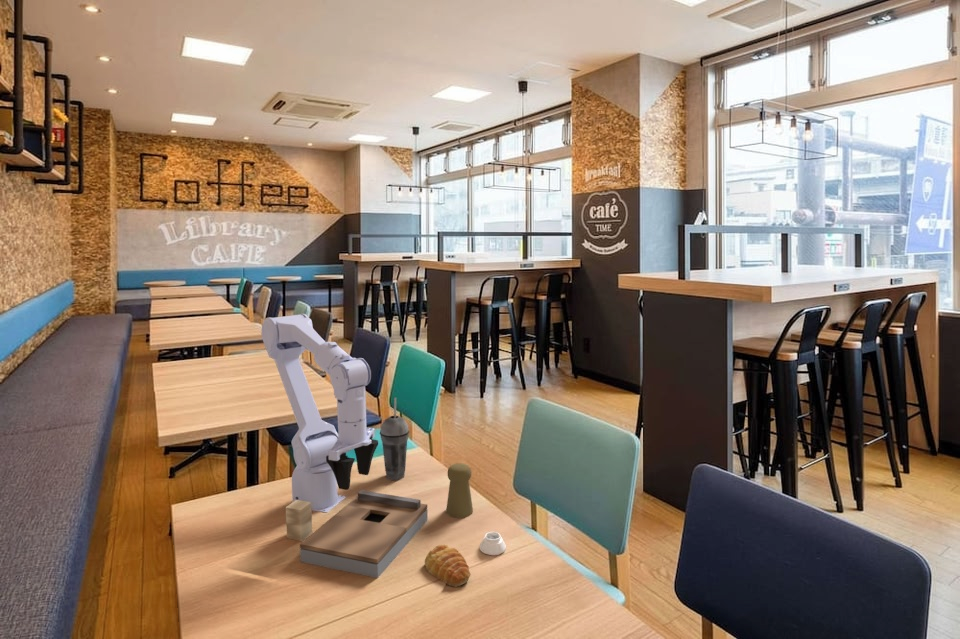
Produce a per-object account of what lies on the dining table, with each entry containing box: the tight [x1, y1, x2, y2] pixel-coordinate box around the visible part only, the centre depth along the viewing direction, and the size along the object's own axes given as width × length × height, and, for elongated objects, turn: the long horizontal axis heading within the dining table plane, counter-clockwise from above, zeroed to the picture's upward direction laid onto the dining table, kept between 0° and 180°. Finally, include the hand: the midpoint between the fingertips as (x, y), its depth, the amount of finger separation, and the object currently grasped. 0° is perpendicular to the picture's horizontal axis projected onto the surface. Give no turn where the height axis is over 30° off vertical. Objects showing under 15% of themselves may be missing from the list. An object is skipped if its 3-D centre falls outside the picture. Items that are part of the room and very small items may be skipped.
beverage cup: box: [379, 397, 410, 481], centre depth 147 cm, size 7×7×20 cm
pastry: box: [424, 544, 471, 588], centre depth 107 cm, size 9×7×4 cm
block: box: [285, 500, 313, 542], centre depth 119 cm, size 4×4×7 cm
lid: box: [299, 489, 428, 564], centre depth 117 cm, size 16×22×2 cm
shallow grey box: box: [299, 508, 428, 579], centre depth 118 cm, size 16×22×3 cm
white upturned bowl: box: [479, 531, 507, 556], centre depth 115 cm, size 5×3×5 cm
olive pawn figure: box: [445, 462, 474, 519], centre depth 129 cm, size 6×6×11 cm
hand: (354, 481), depth 124 cm, fingers open, 7 cm apart
